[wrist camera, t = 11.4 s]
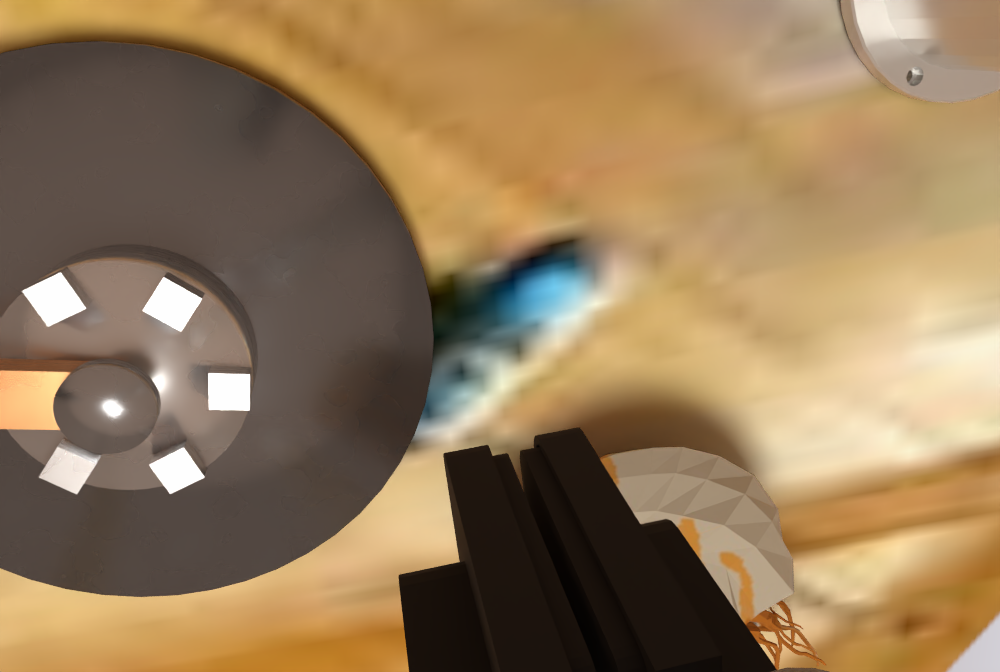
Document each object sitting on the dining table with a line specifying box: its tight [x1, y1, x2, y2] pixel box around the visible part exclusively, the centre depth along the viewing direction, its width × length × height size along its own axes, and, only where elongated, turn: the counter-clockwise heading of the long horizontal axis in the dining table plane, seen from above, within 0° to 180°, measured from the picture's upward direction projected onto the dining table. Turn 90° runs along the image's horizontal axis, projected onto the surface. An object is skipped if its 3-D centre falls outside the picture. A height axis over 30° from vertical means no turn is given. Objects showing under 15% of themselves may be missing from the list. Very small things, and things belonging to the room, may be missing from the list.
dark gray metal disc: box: [0, 41, 434, 597], centre depth 37 cm, size 26×26×1 cm
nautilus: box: [600, 447, 826, 670], centre depth 43 cm, size 8×22×15 cm
